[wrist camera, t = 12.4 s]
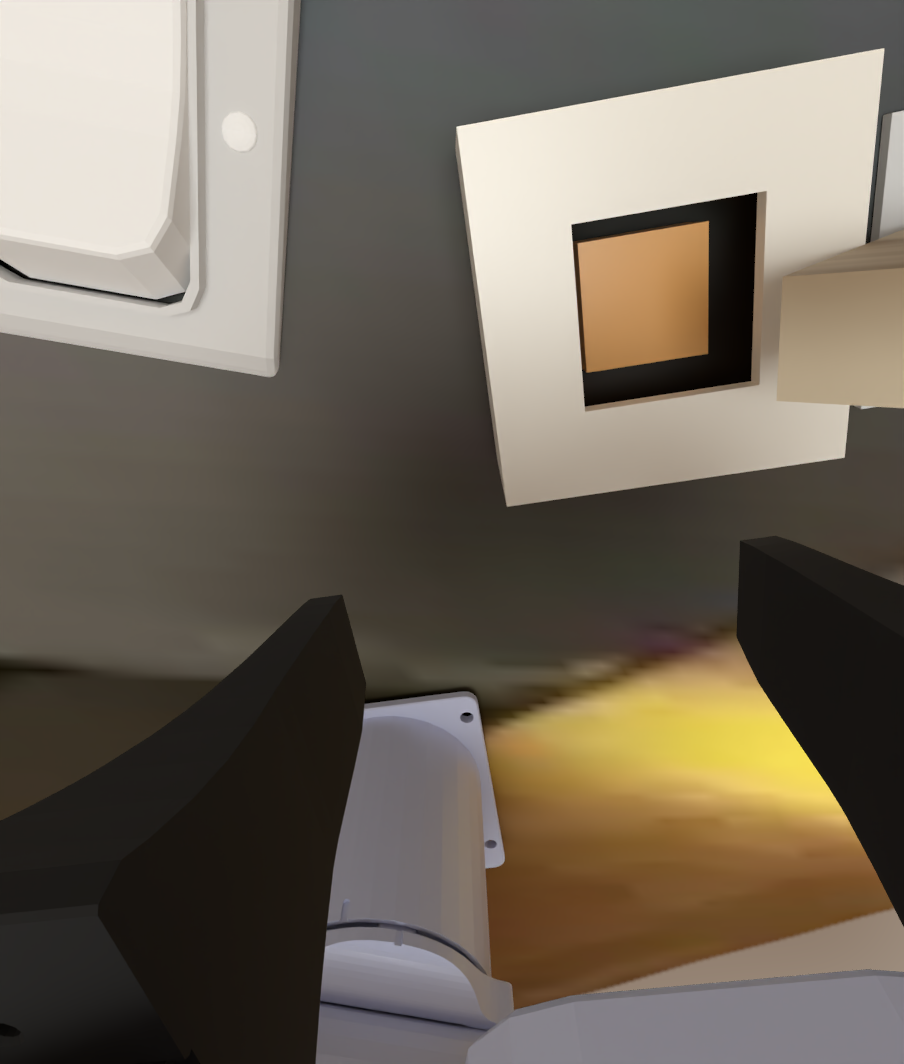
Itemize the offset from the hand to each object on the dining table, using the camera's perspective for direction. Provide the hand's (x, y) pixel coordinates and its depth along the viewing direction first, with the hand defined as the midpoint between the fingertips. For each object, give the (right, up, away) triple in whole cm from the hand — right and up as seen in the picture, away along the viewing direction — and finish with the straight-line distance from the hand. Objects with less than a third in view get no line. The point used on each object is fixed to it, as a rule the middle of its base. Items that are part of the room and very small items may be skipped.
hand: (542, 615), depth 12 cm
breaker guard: (+4, +9, +8) cm, 12 cm away
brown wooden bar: (+13, +9, +6) cm, 17 cm away
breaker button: (+4, +9, +7) cm, 12 cm away
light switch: (-11, +13, +6) cm, 19 cm away
